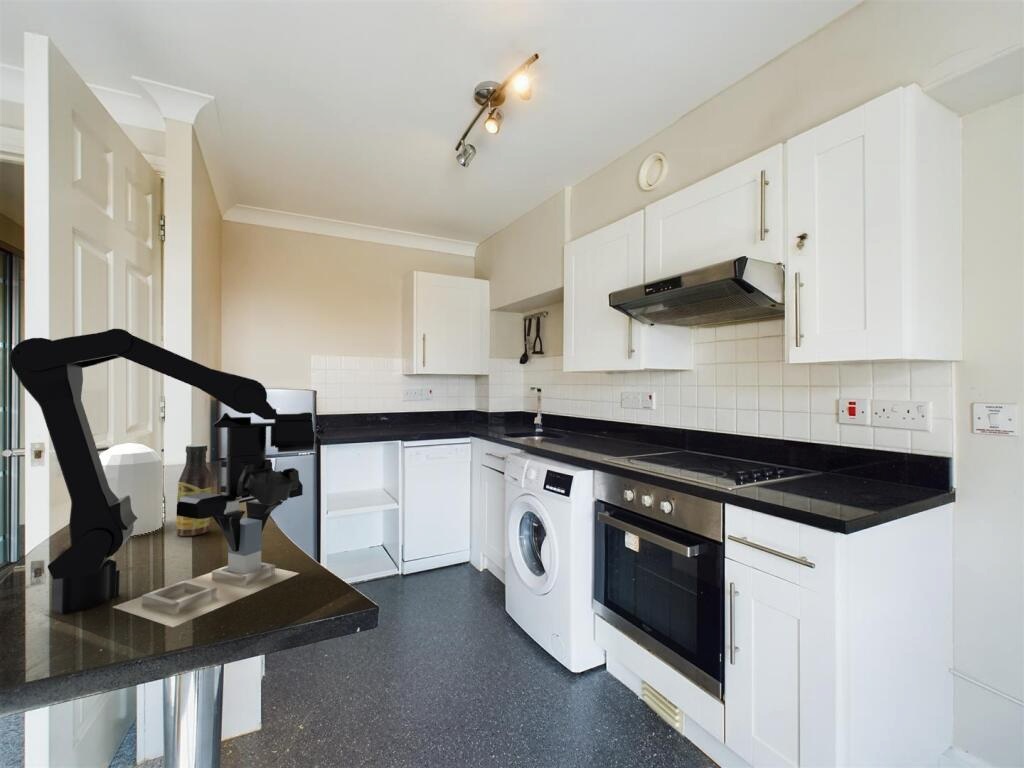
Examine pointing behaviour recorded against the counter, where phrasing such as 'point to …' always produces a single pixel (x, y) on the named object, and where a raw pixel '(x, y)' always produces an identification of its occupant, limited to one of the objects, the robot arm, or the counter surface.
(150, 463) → the container
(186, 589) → the socket dock
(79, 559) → the robot arm
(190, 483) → the sauce bottle
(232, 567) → the plug
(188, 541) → the counter surface
